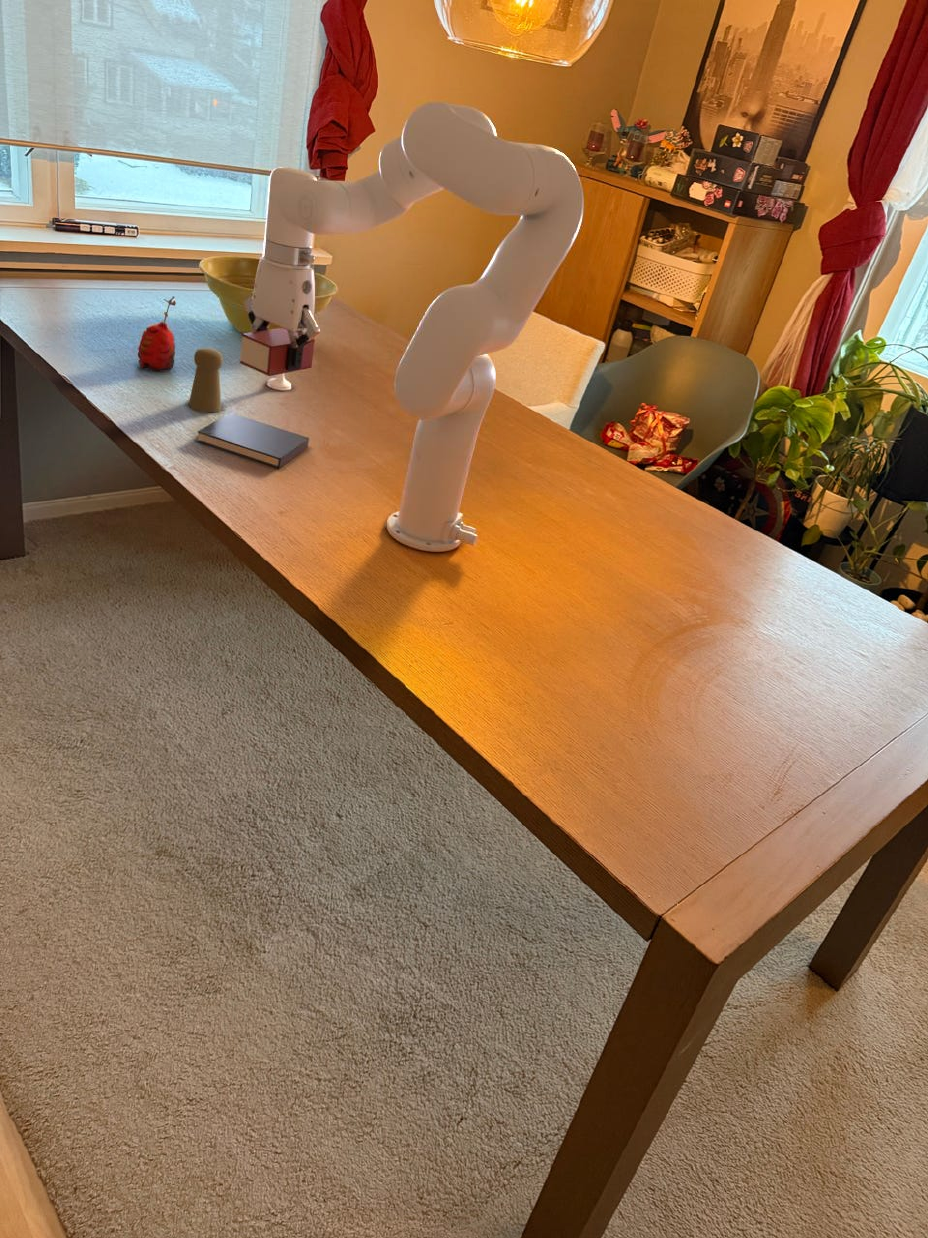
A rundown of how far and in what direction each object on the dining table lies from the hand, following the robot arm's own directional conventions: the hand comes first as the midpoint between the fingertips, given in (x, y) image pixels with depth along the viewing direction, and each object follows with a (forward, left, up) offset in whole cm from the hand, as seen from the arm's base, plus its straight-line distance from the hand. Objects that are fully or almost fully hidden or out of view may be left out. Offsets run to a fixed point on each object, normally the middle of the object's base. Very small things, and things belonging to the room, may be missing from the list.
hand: (276, 361), depth 156 cm
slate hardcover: (+3, 0, -17) cm, 17 cm away
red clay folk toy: (+37, -17, -17) cm, 44 cm away
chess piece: (+16, -30, -17) cm, 38 cm away
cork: (+19, -8, -17) cm, 27 cm away
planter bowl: (+38, -59, -17) cm, 73 cm away
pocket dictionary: (0, 0, -1) cm, 1 cm away
